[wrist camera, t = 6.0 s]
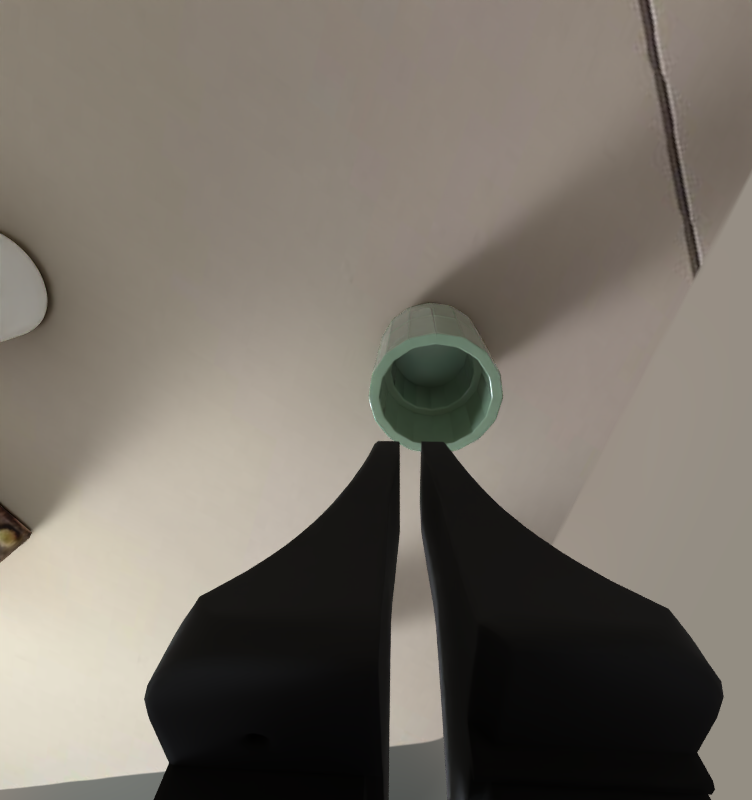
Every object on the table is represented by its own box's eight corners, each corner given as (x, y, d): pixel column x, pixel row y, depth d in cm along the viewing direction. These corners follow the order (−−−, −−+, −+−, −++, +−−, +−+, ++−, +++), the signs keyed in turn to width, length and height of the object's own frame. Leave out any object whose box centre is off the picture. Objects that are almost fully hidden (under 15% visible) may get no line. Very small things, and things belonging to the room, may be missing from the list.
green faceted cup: (491, 310, 18) (520, 346, 13) (465, 401, 20) (481, 463, 15) (389, 292, 18) (380, 322, 13) (374, 385, 20) (361, 441, 15)
